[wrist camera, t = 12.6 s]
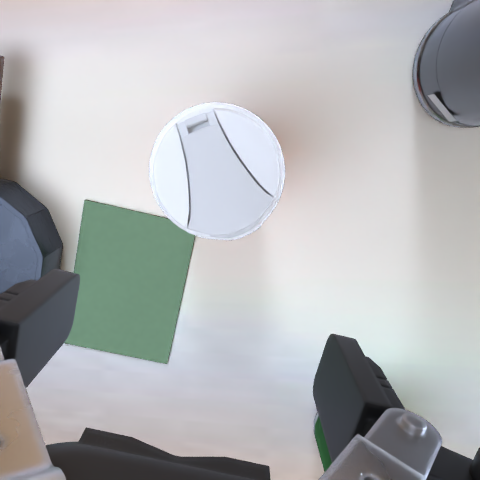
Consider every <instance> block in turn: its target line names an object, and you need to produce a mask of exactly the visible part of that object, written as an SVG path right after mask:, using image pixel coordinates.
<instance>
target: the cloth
mask: <svg viewBox="0 0 480 480" xmlns="http://www.w3.org/2000/svg"><path fill="white" fill-rule="evenodd" d="M194 238H195V235H193V234H190V233H188V232H186V231H184V230H183V229H181V228H180V227H178V226H177V225H176V224H174V223H173V222H172V221H171V220H170V219H168V218H164V217H159V216H155V215H150V214H146V213H142V212H137V211H133V210H128V209H124V208H120V207H115V206H111V205H107V204H102V203H98V202H93V201H89V200H85V201H84V207H83V214H82V221H81V228H80V234H79V241H78V248H77V254H76V261H75V268H74V273H76V274H79V275H80V285H79V291H78V297H77V303H76V309H75V315H74V321H73V325H72V329H71V331H70V334H69V336H68V338H67V339H66V341H65V342H64V343H67V344H72V345H76V346H81V347H86V348H91V349H96V350H101V351H106V352H111V353H116V354H121V355H125V356H130V357H135V358H140V359H145V360H150V361H155V362H160V363H165V364H167V362H168V358H169V353H170V349H171V344H172V339H173V335H174V330H175V326H176V321H177V317H178V312H179V307H180V303H181V298H182V294H183V289H184V284H185V280H186V275H187V271H188V266H189V261H190V257H191V252H192V248H193V243H194Z"/></svg>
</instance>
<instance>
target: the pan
mask: <svg viewBox="0 0 480 480" xmlns="http://www.w3.org/2000/svg"><path fill="white" fill-rule="evenodd" d="M3 66H4V57H3V56H1V55H0V100H1V89H2V77H3ZM62 249H63V244H62V241H61V239H60V236H59V234H58V232H57V229H56V227H55V225H54V222H53V220H52V218H51V215H50V213H49V211H48V209H47V208H46V207H45V206H44V205H43V204H41V203H40V202H39V201H38V200H37V199H35V198H34V197H33V196H32V195H31V194H29V193H28V192H27V191H26V190H25V189H23V188H22V187H21V186H20V185H19V184H17V183H16V182H14V181H10V180H5V179H1V178H0V294H1V293H3V292H4V293H5V291H6V290H7V289H9V288H10V287H12V286H13V285H15V284H17V283H20V282H24V281H27V280H31V279H33V280H38V279H40V278H41V277H43V276H44V275H45V274H47V273H48V272H49V271H51V270H52V269H59V270H60V264H61V256H62Z"/></svg>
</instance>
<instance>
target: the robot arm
mask: <svg viewBox="0 0 480 480" xmlns="http://www.w3.org/2000/svg"><path fill="white" fill-rule="evenodd" d="M413 82H414V88H415V91H416V95H417V97H418V99H419V101H420V103H421V105H422V106H423V108H424V109H425V110H426V111H427V113H428V114H429V115H431V116H432V117H433V118H434V119H436V120H437V121H439V122H441V123H443V124H446V125H449V126H453V127H461V128H463V127H478V126H480V0H454V1H453V3H452V6H451V9H450V11H449V13H447V14H446V15H444V16H443V17H441V18H440V19H439V20H438V21H437V22H436V23H435V24H434V25H433V26H432V27H431V28H430V29H429V30H428V32H427V33H426V34H425V36H424V38H423V39H422V41H421V43H420V45H419V47H418V50H417V53H416V56H415V60H414V66H413ZM79 285H80V275H79V274H76V273H72V272H68V271H63V270H59V269H52V270H51V271H49V272H48V273H47V274H45V275H44V276H43V277H41V278H40V279H38V280H33V279H31V280H27V281H24V282H20V283H17V284H15V285H13V286H12V287H10V288H9V289H7V290H6V291H5V293H4V292H3V293H1V294H0V480H270V470H269V466H266V465H261V464H256V463H251V462H247V461H242V460H237V459H233V458H228V457H179V456H174V455H172V454H169V453H167V452H165V451H162V450H160V449H158V448H156V447H153V446H151V445H149V444H146V443H144V442H142V441H139V440H137V439H135V438H132V437H128V436H124V435H119V434H114V433H109V432H105V431H100V430H95V429H90V428H86V429H85V431H84V432H83V434H82V436H81V438H80V440H79V442H64V443H56V444H50V445H46V446H45V443H44V440H43V437H42V434H41V431H40V428H39V425H38V423H37V420H36V417H35V414H34V411H33V408H32V405H31V402H30V399H29V397H28V394H27V391H26V387H27V386H28V385H29V384H30V383H31V381H32V380H33V379H34V378H35V377H36V376H37V374H38V373H39V372H40V371H41V370H42V368H43V367H44V366H45V365H46V364H47V362H48V361H49V360H50V359H51V358H52V356H53V355H54V354H55V353H56V352H57V350H58V349H59V348H60V347H61V346H62V345H63V343H64V342H65V341H66V339H67V338H68V336H69V334H70V331H71V329H72V325H73V321H74V315H75V309H76V303H77V297H78V291H79ZM313 396H314V400H315V404H316V407H317V411H318V415H319V418H320V422H321V426H322V429H323V433H324V436H325V440H326V444H327V447H328V451H329V455H330V458H331V462H332V464H331V465H330V467H329V468H328V469H327V470H326V471H325V472H324V474H323V475H322V476H321V477H320V478H319V480H480V448H479V449H478V451H477V453H476V455H475V457H474V460H472V459H470V458H467V457H465V456H463V455H460V454H458V453H456V452H453V451H451V450H448V449H446V448H444V447H442V446H441V444H442V438H441V436H440V434H439V432H438V431H437V430H436V429H435V428H434V427H433V426H432V425H431V424H430V423H429V422H428V421H426V420H425V419H423V418H422V417H420V416H418V415H417V414H415V413H412V412H410V411H407V410H405V408H404V407H403V405H402V403H401V402H400V400H399V398H398V397H397V395H396V393H395V392H394V390H393V389H392V386H391V385H390V383H389V381H388V380H387V378H386V376H385V375H384V373H383V371H382V370H381V368H380V367H379V366H378V365H377V364H376V363H374V362H373V361H372V360H371V359H370V358H369V357H365V355H364V353H363V352H362V350H361V348H360V346H359V344H358V343H357V341H356V339H353V338H349V337H345V336H340V335H336V334H331V335H330V336H329V338H328V340H327V342H326V345H325V348H324V351H323V354H322V357H321V360H320V363H319V366H318V369H317V372H316V375H315V379H314V385H313Z"/></svg>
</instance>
